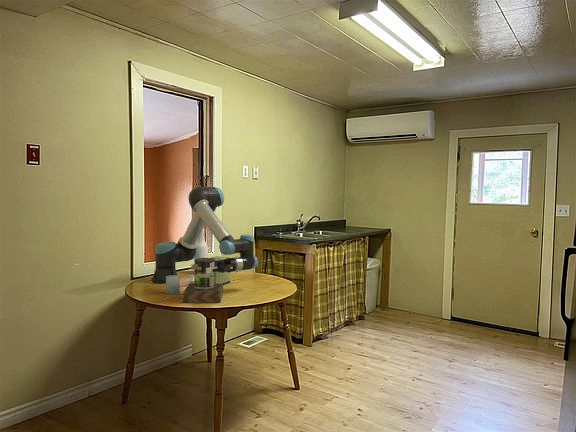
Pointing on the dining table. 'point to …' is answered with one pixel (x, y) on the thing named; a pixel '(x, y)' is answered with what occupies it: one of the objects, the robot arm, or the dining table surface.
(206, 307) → the dining table surface
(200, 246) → the alcohol
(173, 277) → the pale glossy cylinder
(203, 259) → the coffee can
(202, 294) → the podium
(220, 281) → the protein box
